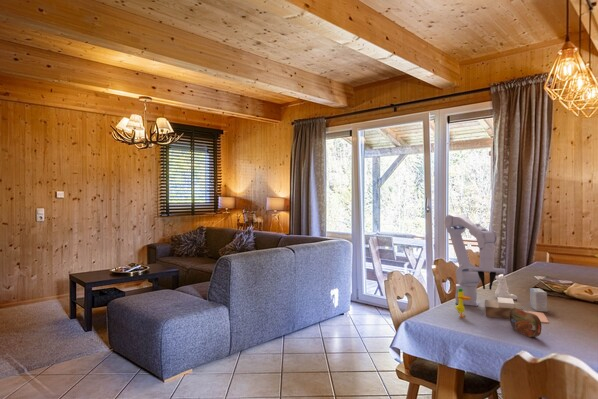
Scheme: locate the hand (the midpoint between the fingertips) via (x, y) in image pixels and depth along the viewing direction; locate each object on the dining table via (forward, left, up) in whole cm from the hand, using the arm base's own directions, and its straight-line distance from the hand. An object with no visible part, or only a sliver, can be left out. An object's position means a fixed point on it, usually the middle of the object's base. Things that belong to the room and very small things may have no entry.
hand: (487, 289), depth 171 cm
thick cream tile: (+7, 0, -6) cm, 10 cm away
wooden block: (+6, 0, -10) cm, 12 cm away
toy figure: (-10, -11, -11) cm, 18 cm away
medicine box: (+21, +14, -11) cm, 28 cm away
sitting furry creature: (+8, +29, -11) cm, 32 cm away
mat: (+18, 0, -10) cm, 21 cm away
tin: (+12, -23, -11) cm, 28 cm away
